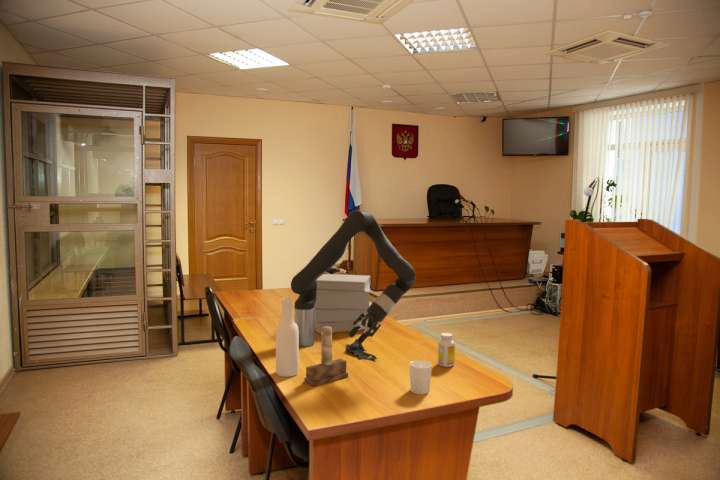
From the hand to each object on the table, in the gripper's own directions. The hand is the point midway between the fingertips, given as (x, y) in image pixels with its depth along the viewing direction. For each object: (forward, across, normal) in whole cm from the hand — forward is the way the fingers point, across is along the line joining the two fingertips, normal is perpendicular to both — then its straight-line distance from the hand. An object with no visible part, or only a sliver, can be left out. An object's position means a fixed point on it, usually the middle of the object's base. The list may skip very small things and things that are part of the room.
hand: (354, 339), depth 192 cm
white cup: (-1, +23, +21) cm, 32 cm away
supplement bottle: (-18, +4, +38) cm, 43 cm away
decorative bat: (+2, -25, +19) cm, 32 cm away
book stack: (-6, -67, +26) cm, 72 cm away
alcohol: (+27, -12, -6) cm, 30 cm away
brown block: (+18, 0, +2) cm, 18 cm away
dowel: (+14, 0, -2) cm, 14 cm away
